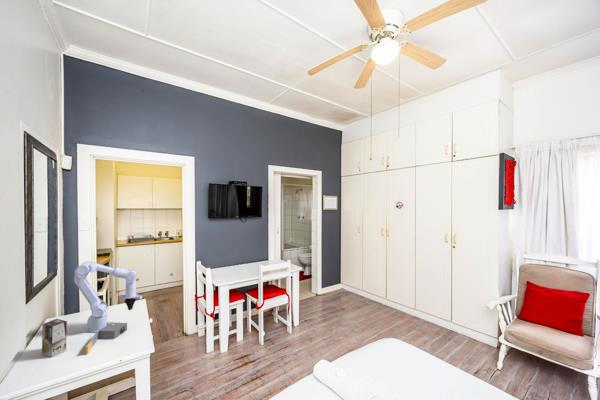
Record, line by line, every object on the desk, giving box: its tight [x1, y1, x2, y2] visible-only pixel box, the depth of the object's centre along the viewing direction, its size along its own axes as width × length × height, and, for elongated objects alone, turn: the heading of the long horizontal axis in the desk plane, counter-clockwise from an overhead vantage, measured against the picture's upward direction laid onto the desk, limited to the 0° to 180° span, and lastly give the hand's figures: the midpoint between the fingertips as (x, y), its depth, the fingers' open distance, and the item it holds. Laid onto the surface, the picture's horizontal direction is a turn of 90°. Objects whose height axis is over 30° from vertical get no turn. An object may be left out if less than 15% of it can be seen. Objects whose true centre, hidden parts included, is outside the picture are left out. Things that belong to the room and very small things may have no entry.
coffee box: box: [41, 318, 68, 358], centre depth 131 cm, size 9×6×16 cm
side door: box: [85, 332, 99, 355], centre depth 136 cm, size 16×1×4 cm, turn 25°
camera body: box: [98, 322, 128, 340], centre depth 149 cm, size 11×10×5 cm
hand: (130, 309), depth 162 cm, fingers closed
